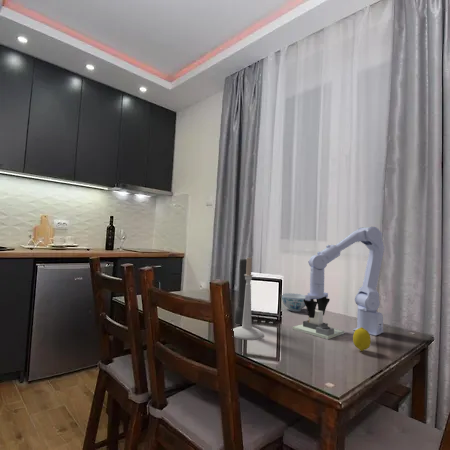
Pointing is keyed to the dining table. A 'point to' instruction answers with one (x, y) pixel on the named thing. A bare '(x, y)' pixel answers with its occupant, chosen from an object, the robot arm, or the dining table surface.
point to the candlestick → (247, 311)
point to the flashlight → (241, 292)
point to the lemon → (361, 339)
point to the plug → (317, 318)
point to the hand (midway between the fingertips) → (316, 316)
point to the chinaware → (293, 301)
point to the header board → (312, 331)
